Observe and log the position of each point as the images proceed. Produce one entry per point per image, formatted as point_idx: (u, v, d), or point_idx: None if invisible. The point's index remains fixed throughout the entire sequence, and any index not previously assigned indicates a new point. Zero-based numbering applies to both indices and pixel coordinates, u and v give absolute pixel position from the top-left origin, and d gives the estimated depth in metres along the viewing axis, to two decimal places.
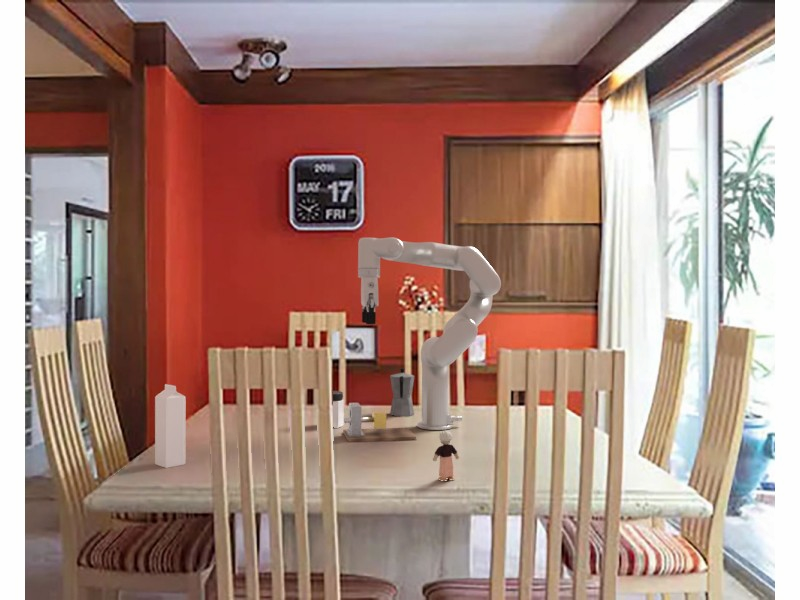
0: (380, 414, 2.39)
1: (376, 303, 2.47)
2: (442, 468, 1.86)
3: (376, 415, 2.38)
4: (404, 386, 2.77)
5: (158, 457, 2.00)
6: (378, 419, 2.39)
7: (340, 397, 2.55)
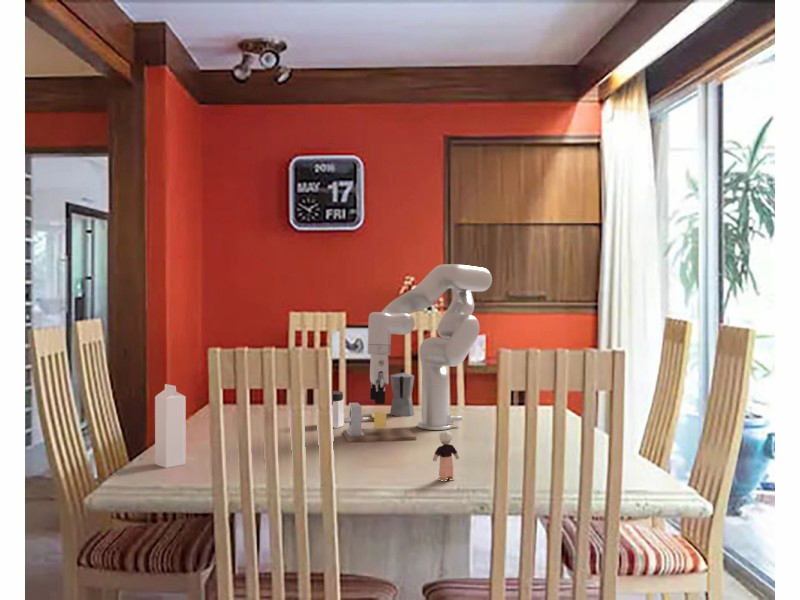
0: (380, 414, 2.39)
1: (386, 382, 2.36)
2: (442, 468, 1.86)
3: (376, 415, 2.38)
4: (404, 386, 2.77)
5: (158, 457, 2.00)
6: (378, 419, 2.39)
7: (340, 397, 2.55)
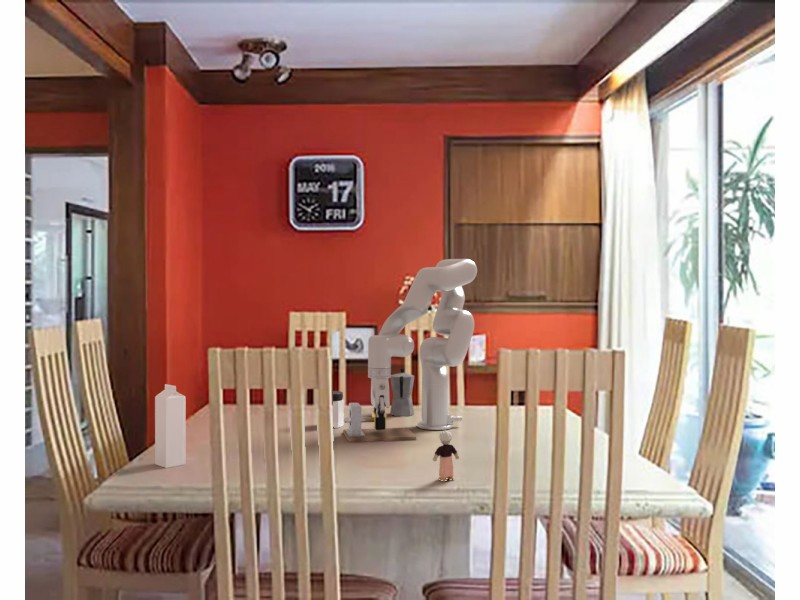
0: None
1: (387, 405, 2.36)
2: (442, 468, 1.86)
3: None
4: (404, 386, 2.77)
5: (158, 457, 2.00)
6: None
7: (340, 397, 2.55)
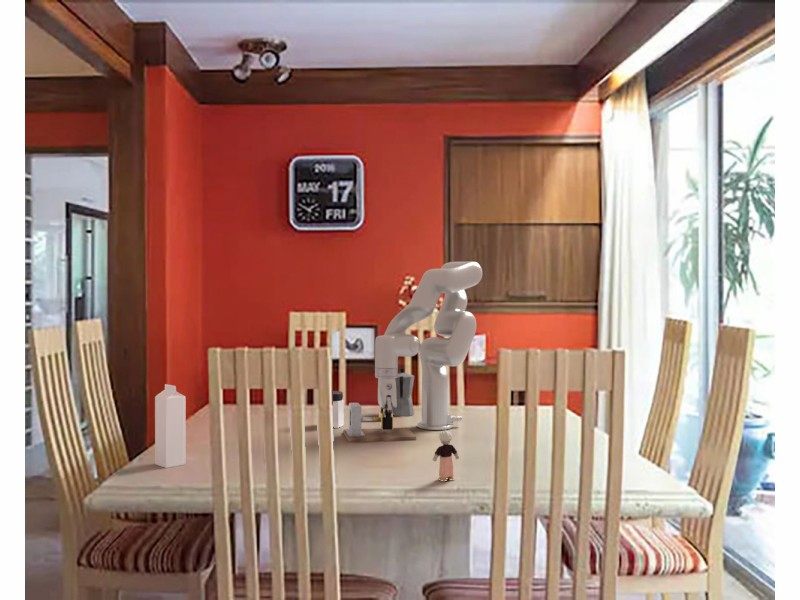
0: None
1: (394, 405, 2.37)
2: (442, 468, 1.86)
3: (383, 414, 2.39)
4: (404, 386, 2.77)
5: (158, 457, 2.00)
6: None
7: (340, 397, 2.55)
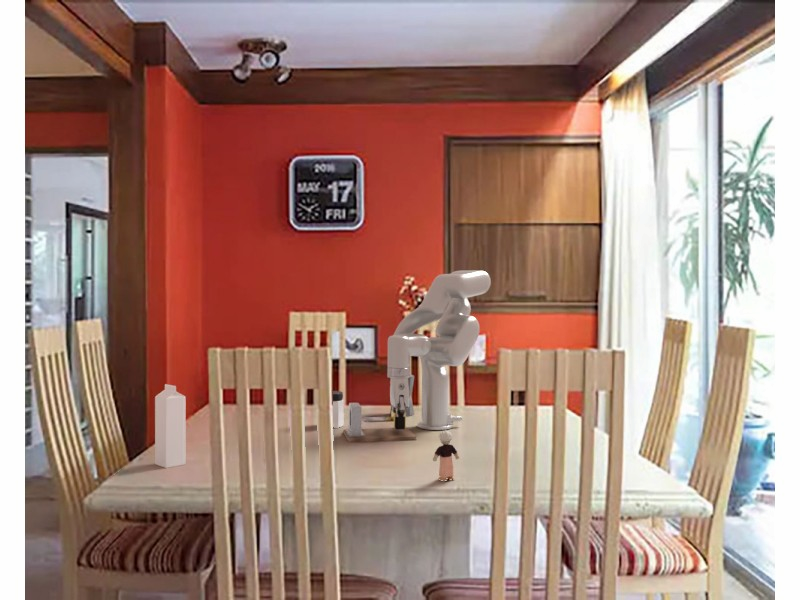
0: None
1: (407, 405, 2.38)
2: (442, 468, 1.86)
3: (395, 414, 2.40)
4: None
5: (158, 457, 2.00)
6: None
7: (340, 397, 2.55)
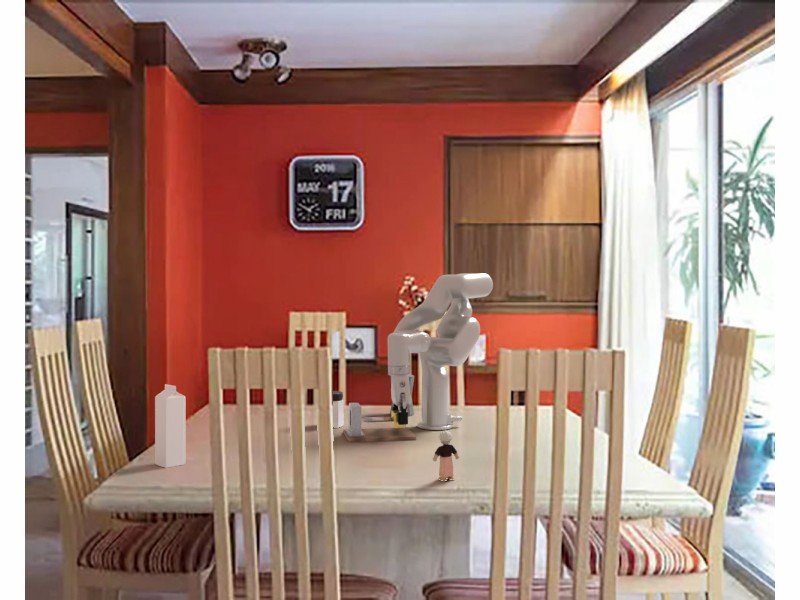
0: None
1: (408, 402, 2.38)
2: (442, 468, 1.86)
3: (395, 414, 2.40)
4: None
5: (158, 457, 2.00)
6: None
7: (340, 397, 2.55)
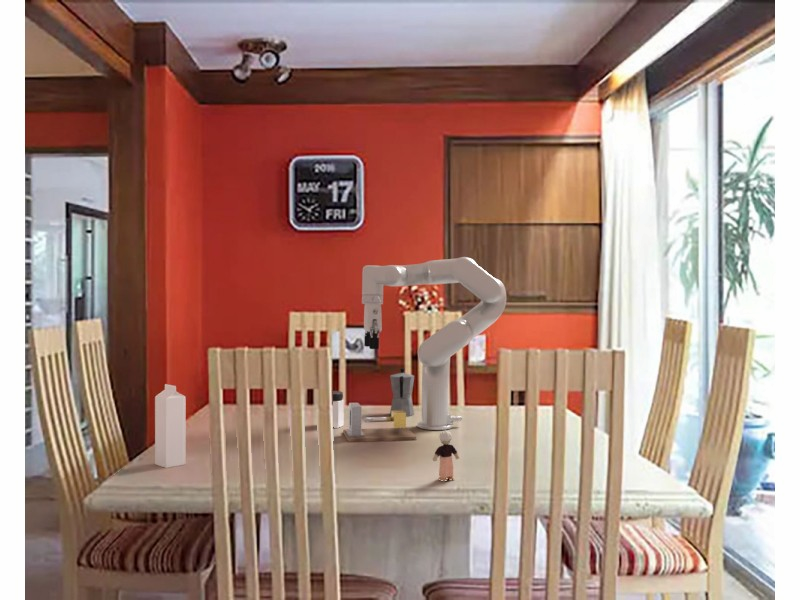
0: (400, 413, 2.40)
1: (379, 329, 2.57)
2: (442, 468, 1.86)
3: (395, 414, 2.40)
4: (404, 386, 2.77)
5: (158, 457, 2.00)
6: (398, 418, 2.40)
7: (340, 397, 2.55)
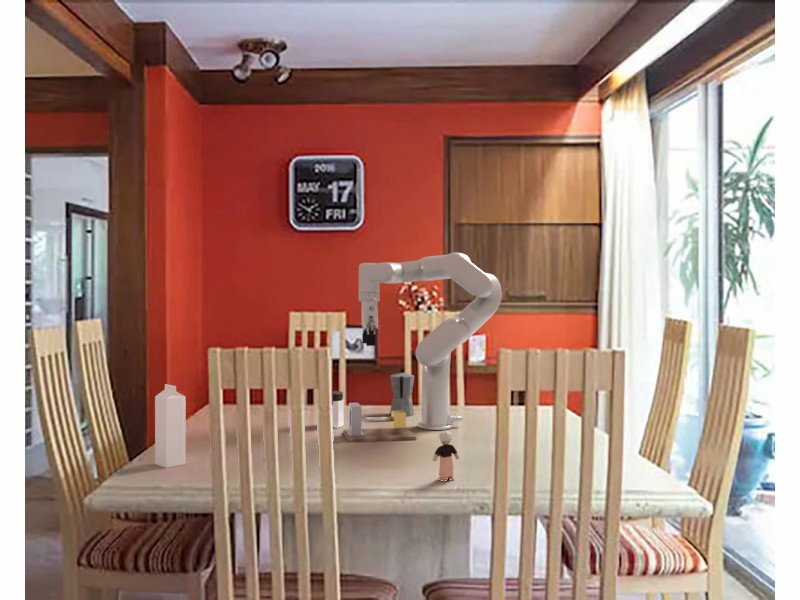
0: (400, 413, 2.40)
1: (376, 325, 2.59)
2: (442, 468, 1.86)
3: (395, 414, 2.40)
4: (404, 386, 2.77)
5: (158, 457, 2.00)
6: (398, 418, 2.40)
7: (340, 397, 2.55)
